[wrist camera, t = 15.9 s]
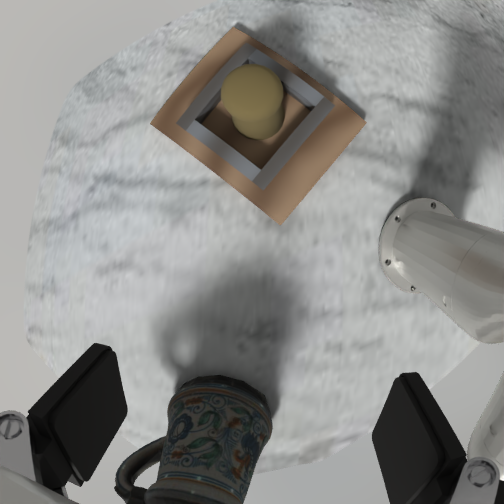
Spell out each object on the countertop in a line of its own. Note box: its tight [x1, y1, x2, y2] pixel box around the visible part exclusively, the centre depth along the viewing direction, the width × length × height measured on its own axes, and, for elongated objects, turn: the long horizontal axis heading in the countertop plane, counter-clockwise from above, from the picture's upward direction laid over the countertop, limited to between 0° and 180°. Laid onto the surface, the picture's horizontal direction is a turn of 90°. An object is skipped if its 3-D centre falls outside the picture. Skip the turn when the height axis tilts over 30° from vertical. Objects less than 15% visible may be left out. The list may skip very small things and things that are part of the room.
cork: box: [221, 64, 285, 140], centre depth 26 cm, size 6×6×11 cm
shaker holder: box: [150, 27, 367, 225], centre depth 31 cm, size 20×16×4 cm
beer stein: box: [114, 375, 273, 504], centre depth 32 cm, size 16×19×25 cm
